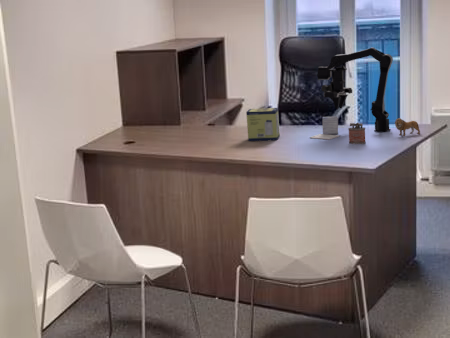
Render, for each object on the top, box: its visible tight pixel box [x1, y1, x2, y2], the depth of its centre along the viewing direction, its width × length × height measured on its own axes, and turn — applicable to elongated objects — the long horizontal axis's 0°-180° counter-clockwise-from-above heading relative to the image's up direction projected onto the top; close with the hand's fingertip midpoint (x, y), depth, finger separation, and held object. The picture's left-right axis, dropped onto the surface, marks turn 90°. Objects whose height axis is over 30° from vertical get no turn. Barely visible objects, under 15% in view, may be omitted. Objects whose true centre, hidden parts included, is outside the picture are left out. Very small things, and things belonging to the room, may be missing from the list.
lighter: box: [347, 122, 367, 145], centre depth 345 cm, size 8×3×10 cm, turn 71°
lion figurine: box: [394, 117, 421, 137], centre depth 357 cm, size 15×5×9 cm, turn 113°
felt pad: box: [309, 133, 340, 141], centre depth 368 cm, size 12×10×1 cm
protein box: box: [246, 107, 281, 142], centre depth 374 cm, size 10×16×16 cm
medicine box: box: [322, 116, 339, 135], centre depth 374 cm, size 8×4×9 cm, turn 84°
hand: (338, 108), depth 379 cm, fingers open, 3 cm apart
